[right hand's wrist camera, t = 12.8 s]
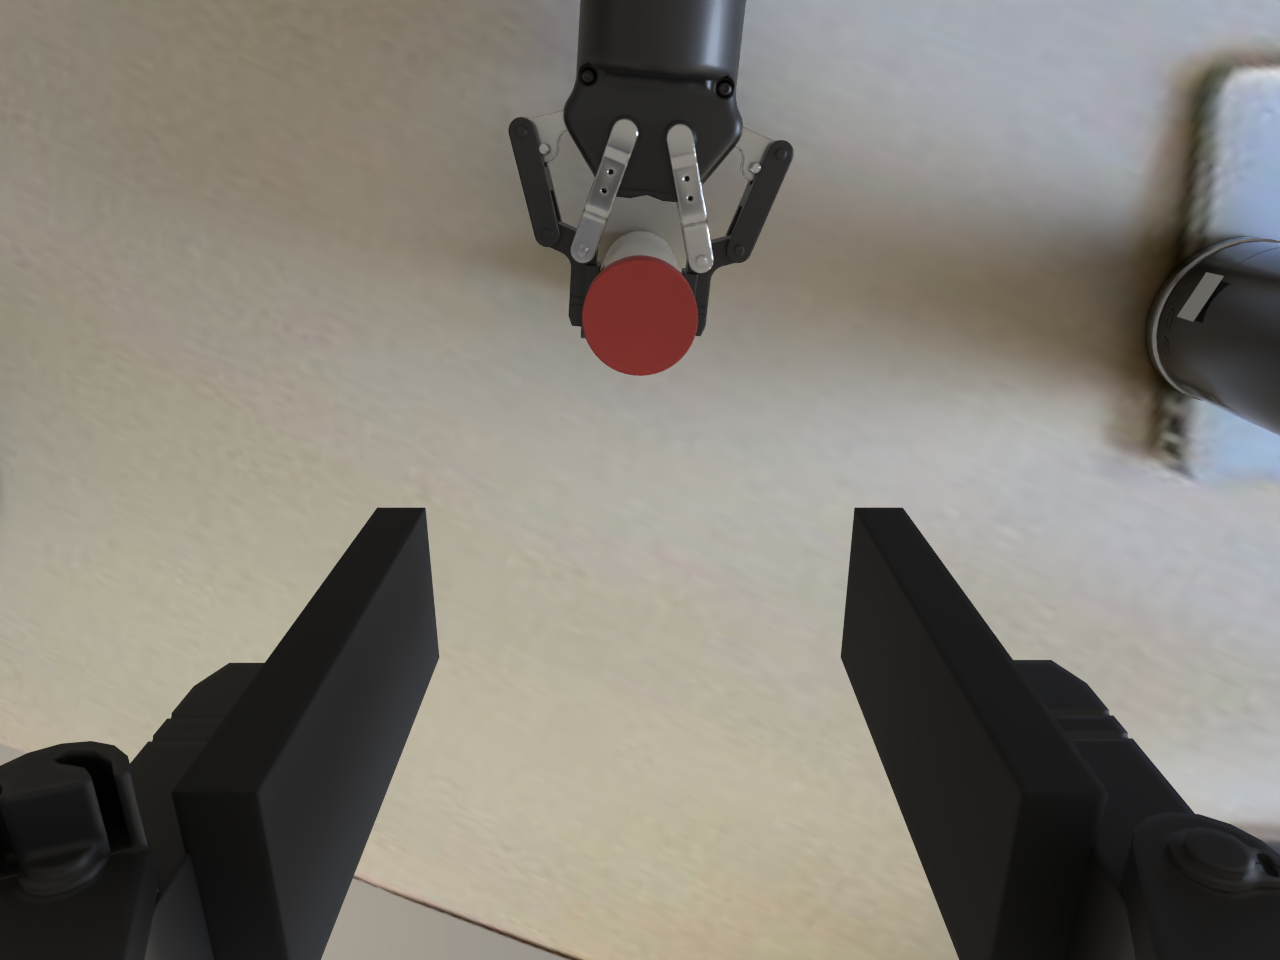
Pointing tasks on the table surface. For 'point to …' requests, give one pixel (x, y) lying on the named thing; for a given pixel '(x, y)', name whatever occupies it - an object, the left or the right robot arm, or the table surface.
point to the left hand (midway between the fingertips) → (635, 337)
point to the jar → (639, 248)
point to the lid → (640, 315)
